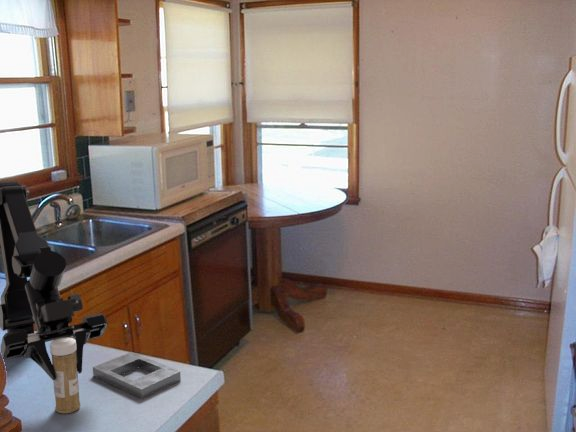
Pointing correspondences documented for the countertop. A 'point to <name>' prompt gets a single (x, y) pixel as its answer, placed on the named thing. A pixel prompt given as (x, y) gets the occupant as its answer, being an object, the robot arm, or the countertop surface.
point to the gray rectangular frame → (141, 386)
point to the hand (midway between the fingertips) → (67, 376)
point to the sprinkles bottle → (65, 375)
